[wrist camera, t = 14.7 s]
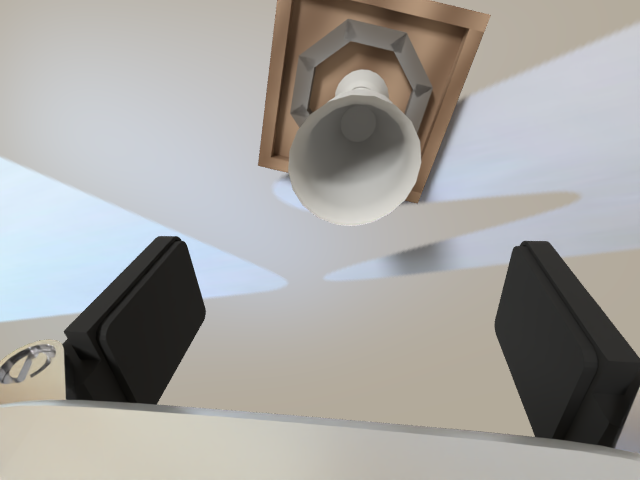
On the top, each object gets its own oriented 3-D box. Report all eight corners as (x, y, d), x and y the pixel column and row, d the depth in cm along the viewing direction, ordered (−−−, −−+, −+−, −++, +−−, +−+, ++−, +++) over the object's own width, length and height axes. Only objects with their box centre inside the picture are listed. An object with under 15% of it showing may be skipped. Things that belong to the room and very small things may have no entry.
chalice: (368, 150, 37) (366, 246, 22) (311, 112, 36) (265, 186, 20) (415, 84, 33) (451, 144, 18) (352, 39, 32) (335, 63, 17)
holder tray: (483, 15, 31) (491, 14, 29) (415, 194, 40) (417, 204, 38) (286, -33, 31) (280, -36, 29) (263, 158, 40) (257, 166, 38)
